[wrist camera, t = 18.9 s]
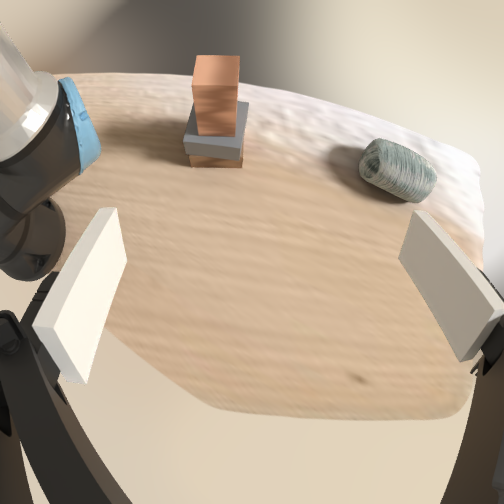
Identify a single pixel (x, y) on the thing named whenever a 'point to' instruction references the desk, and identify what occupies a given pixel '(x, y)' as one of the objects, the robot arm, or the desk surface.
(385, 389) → the desk surface
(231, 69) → the tall block
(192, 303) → the desk surface
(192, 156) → the bottom slab
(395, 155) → the spool
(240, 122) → the top slab
